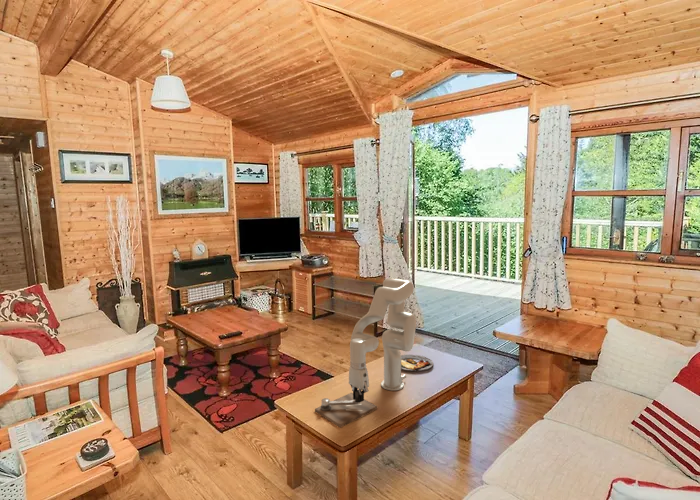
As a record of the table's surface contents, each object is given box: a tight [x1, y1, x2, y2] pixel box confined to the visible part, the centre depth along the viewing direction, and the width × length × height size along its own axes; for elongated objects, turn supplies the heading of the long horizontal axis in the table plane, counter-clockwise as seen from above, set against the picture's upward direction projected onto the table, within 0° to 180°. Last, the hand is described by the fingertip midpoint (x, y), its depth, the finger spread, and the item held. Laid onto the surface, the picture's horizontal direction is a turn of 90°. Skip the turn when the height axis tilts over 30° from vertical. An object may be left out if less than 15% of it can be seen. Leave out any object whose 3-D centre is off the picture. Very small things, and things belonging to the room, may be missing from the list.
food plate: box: [401, 354, 434, 372], centre depth 252 cm, size 25×23×4 cm
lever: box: [321, 389, 359, 408], centre depth 198 cm, size 20×4×7 cm, turn 93°
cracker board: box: [314, 392, 378, 429], centre depth 199 cm, size 24×19×2 cm
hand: (358, 399), depth 199 cm, fingers closed on lever, 3 cm apart
